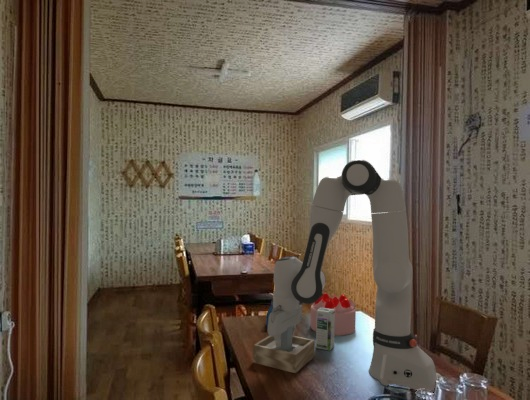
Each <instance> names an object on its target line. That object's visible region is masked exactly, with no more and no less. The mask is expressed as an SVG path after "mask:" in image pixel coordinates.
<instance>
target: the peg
mask: <svg viewBox="0 0 530 400" xmlns="http://www.w3.org/2000/svg"><path fill="white" fill-rule="evenodd" d="M292 329H293V325H291V326H290V327H288V328H287V331H286V332H284V333H283V334H281V337H280V339H281V341H282V346H280V347H277V349H278V350H283V351H287V352H290V351H292Z"/></svg>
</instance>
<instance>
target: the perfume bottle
mask: <svg viewBox="0 0 530 400" xmlns="http://www.w3.org/2000/svg"><path fill="white" fill-rule="evenodd" d="M270 303H271V304H270V305H269V307H268V309H267V310H266V322H265V323H266V324H265V326H266V327H267V328H268V319H269V315H270V313H271V312H272V311H273V297H271V301H270Z"/></svg>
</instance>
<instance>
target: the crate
mask: <svg viewBox="0 0 530 400" xmlns="http://www.w3.org/2000/svg"><path fill="white" fill-rule="evenodd" d="M315 345H316V339H311V338H307V337H301V336H297V335H294V337H293V338H292V351H290V352H287V351H283V350H278V349H277V346H276V341H275V339H274V337H273V336H269V335H268V336H266V337H265V338H263V339H261V340H260V341H258V342H255V344H253V350H252V351H253V353H252V355H253V356H252V359H253V361H252V362H253V363H254V364H258V365H260V366H261V365H262V366H265V367H270V368H273V369H278V370H281V371H284V372H289V373H293V374H297V373H298V372H299V371H300V370H301V369H302V368H303V367H305V365H306V364H308V363H309V362H310V361H311V360H312V359H313V358H315Z"/></svg>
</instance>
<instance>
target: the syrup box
mask: <svg viewBox="0 0 530 400" xmlns="http://www.w3.org/2000/svg"><path fill="white" fill-rule="evenodd" d="M334 331H335V309H328V308H319V309H318V310H317V325H316V332H315V333H316V334H315V338H316V339H315V349H320V350H326V351H328V352H329V351H331V350H332V349H333V348H334V347H335V336H334Z"/></svg>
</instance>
